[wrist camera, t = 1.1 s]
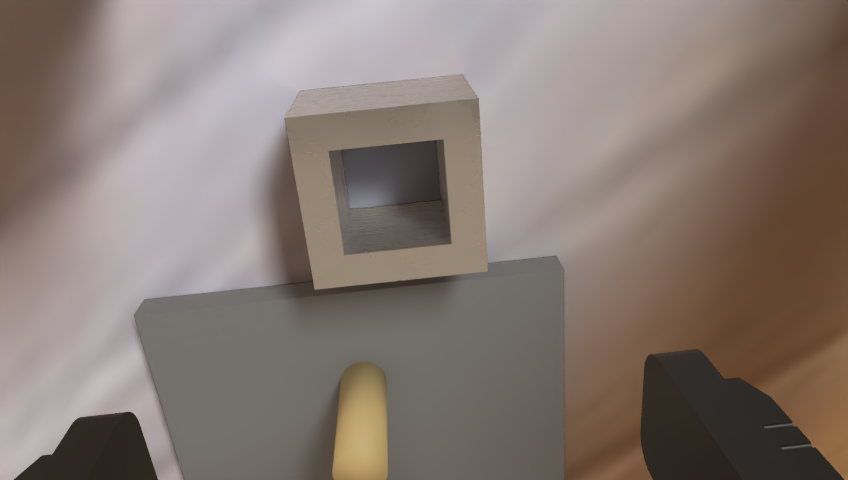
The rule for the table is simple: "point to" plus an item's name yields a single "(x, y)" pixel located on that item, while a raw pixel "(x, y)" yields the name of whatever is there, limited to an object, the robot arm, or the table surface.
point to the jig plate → (405, 325)
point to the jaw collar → (395, 224)
